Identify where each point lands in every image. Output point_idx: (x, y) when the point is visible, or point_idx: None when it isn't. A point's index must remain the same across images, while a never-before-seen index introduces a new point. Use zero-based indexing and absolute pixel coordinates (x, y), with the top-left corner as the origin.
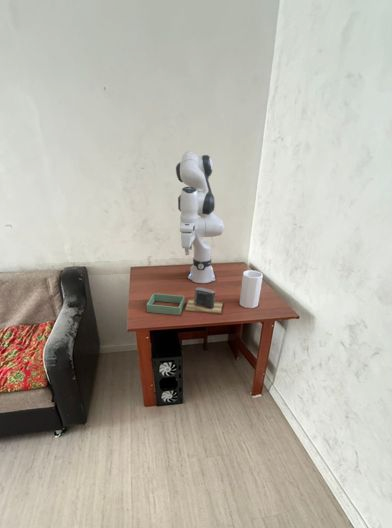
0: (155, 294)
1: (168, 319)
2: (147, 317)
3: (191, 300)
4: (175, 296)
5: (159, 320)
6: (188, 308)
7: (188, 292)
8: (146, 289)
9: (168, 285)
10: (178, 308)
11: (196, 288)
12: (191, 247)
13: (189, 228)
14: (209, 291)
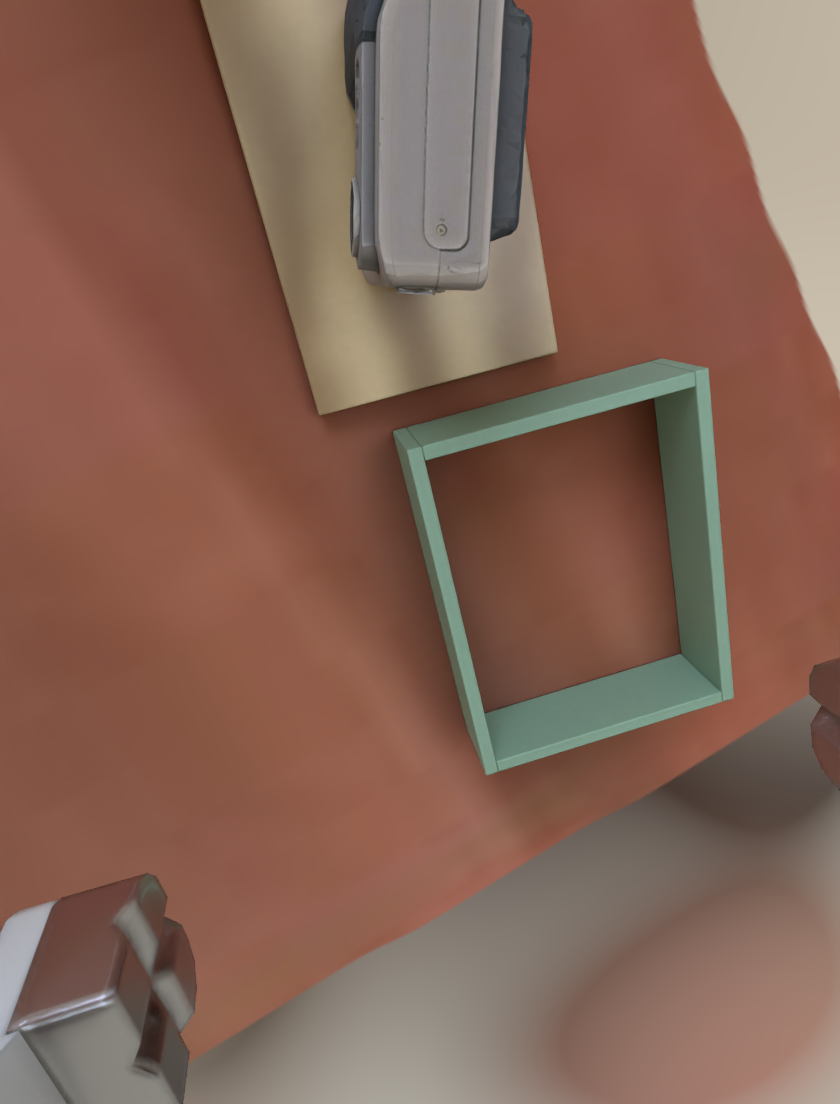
0: (492, 748)
1: (763, 423)
2: (774, 605)
3: (331, 372)
4: (445, 549)
5: (798, 489)
6: (532, 320)
7: (105, 515)
8: (288, 900)
9: (70, 792)
10: (704, 381)
11: (450, 272)
12: (131, 957)
13: None
14: None
